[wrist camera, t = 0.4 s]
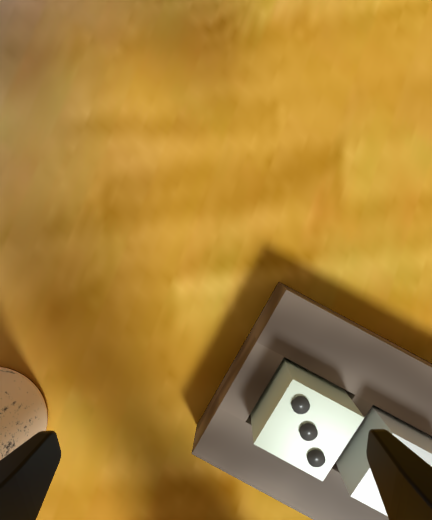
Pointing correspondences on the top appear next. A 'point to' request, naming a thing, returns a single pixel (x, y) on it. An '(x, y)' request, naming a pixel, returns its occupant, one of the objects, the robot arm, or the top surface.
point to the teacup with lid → (19, 410)
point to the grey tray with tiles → (325, 366)
